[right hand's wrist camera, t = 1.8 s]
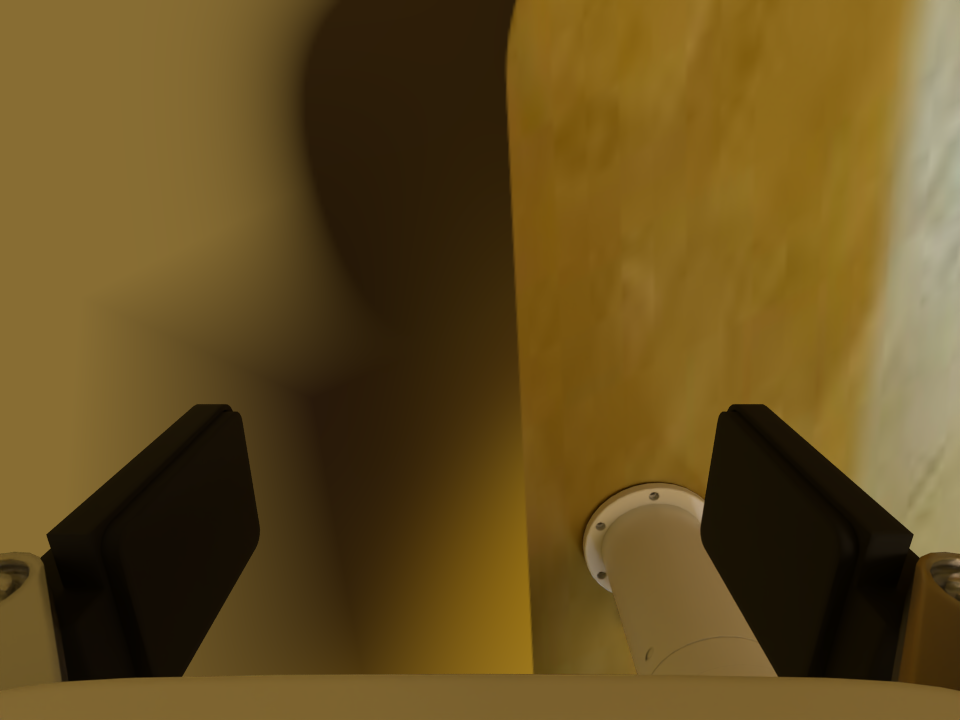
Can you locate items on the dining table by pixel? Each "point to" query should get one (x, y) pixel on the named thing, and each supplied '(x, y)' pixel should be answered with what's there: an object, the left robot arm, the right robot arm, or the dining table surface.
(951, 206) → the dining table surface
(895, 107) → the dining table surface
